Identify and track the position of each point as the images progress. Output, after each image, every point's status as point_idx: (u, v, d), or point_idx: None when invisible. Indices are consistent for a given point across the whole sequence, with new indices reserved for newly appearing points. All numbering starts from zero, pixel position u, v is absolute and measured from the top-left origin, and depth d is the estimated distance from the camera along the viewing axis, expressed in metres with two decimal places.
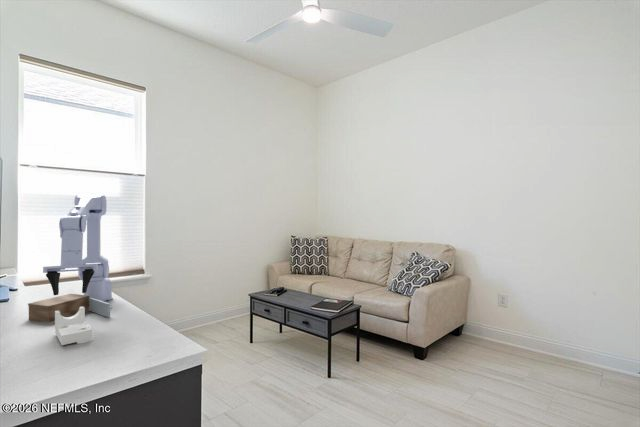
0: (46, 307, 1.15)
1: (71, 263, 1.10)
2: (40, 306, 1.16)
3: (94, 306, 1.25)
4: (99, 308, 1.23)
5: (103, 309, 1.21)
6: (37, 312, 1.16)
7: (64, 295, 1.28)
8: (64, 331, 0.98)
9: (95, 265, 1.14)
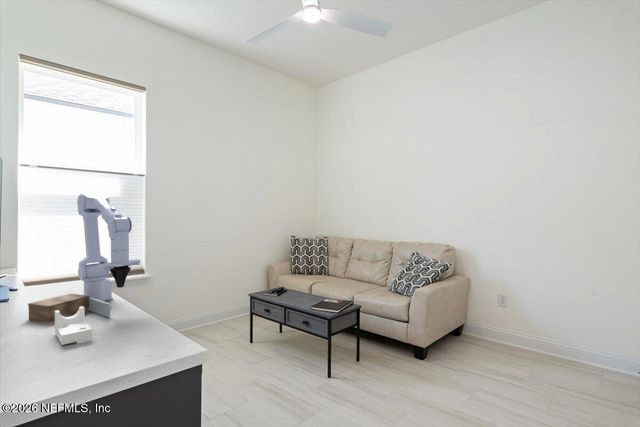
0: (46, 307, 1.15)
1: (126, 261, 1.25)
2: (40, 306, 1.16)
3: (94, 306, 1.25)
4: (99, 308, 1.23)
5: (103, 309, 1.21)
6: (37, 312, 1.16)
7: (64, 295, 1.28)
8: (64, 331, 0.98)
9: (139, 261, 1.32)
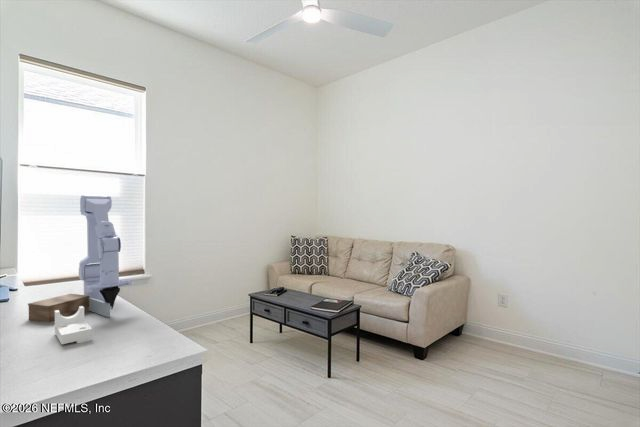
0: (46, 307, 1.15)
1: (115, 282, 1.22)
2: (40, 306, 1.16)
3: (94, 306, 1.25)
4: (99, 308, 1.23)
5: (103, 309, 1.21)
6: (37, 312, 1.16)
7: (64, 295, 1.28)
8: (64, 330, 0.98)
9: (130, 281, 1.28)
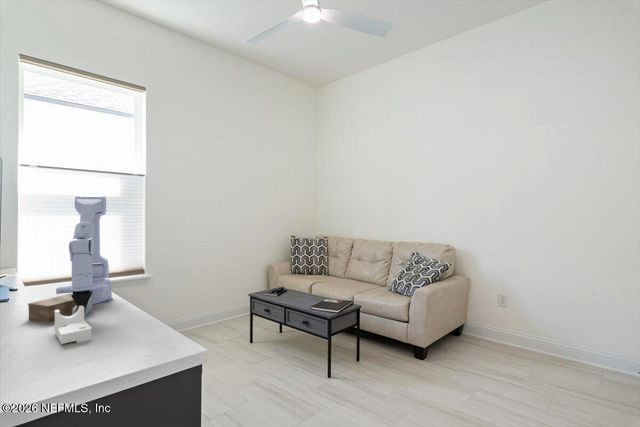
0: (46, 307, 1.15)
1: (81, 286, 1.14)
2: (40, 306, 1.16)
3: None
4: None
5: None
6: (37, 312, 1.16)
7: (64, 295, 1.28)
8: (64, 330, 0.98)
9: (104, 287, 1.18)
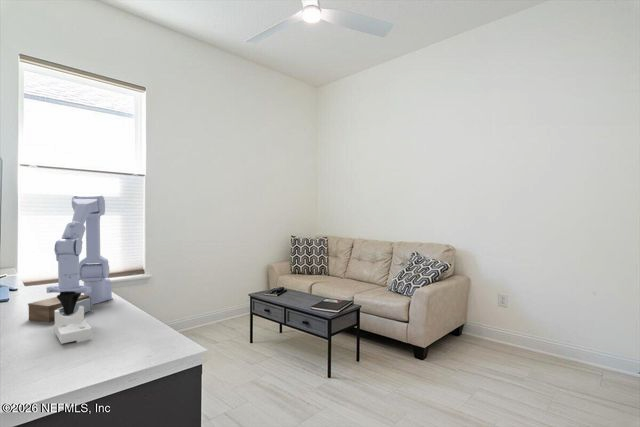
0: (46, 307, 1.15)
1: (64, 287, 1.13)
2: (40, 306, 1.16)
3: None
4: None
5: None
6: (37, 312, 1.16)
7: None
8: (64, 330, 0.99)
9: (86, 289, 1.15)
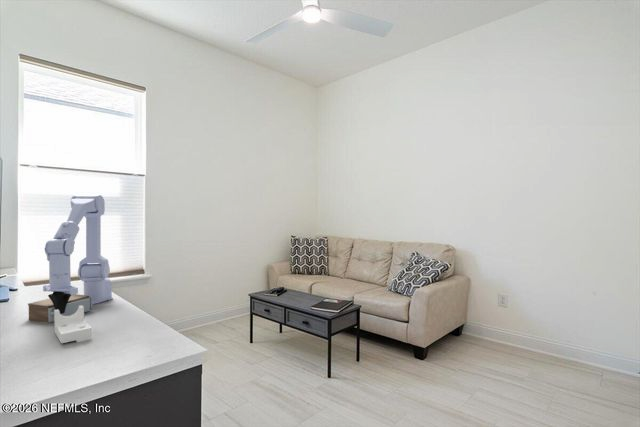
0: (46, 307, 1.15)
1: (52, 287, 1.14)
2: (40, 306, 1.16)
3: None
4: None
5: None
6: (37, 312, 1.16)
7: None
8: (63, 329, 0.99)
9: (71, 290, 1.13)
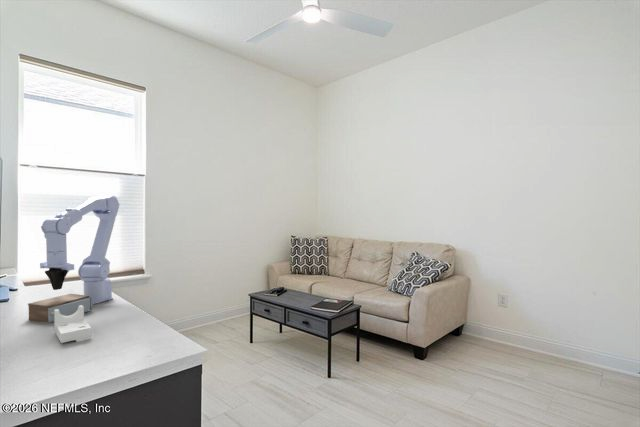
0: (46, 307, 1.15)
1: (50, 263, 1.20)
2: (40, 306, 1.16)
3: None
4: None
5: None
6: (37, 312, 1.16)
7: (64, 295, 1.28)
8: (63, 329, 0.99)
9: (68, 266, 1.19)
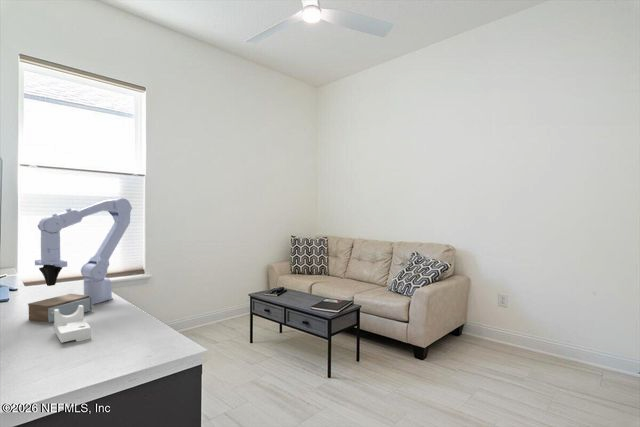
0: (46, 307, 1.15)
1: (44, 260, 1.25)
2: (40, 306, 1.16)
3: None
4: None
5: None
6: (37, 312, 1.16)
7: (64, 295, 1.28)
8: (63, 329, 0.99)
9: (61, 263, 1.25)
